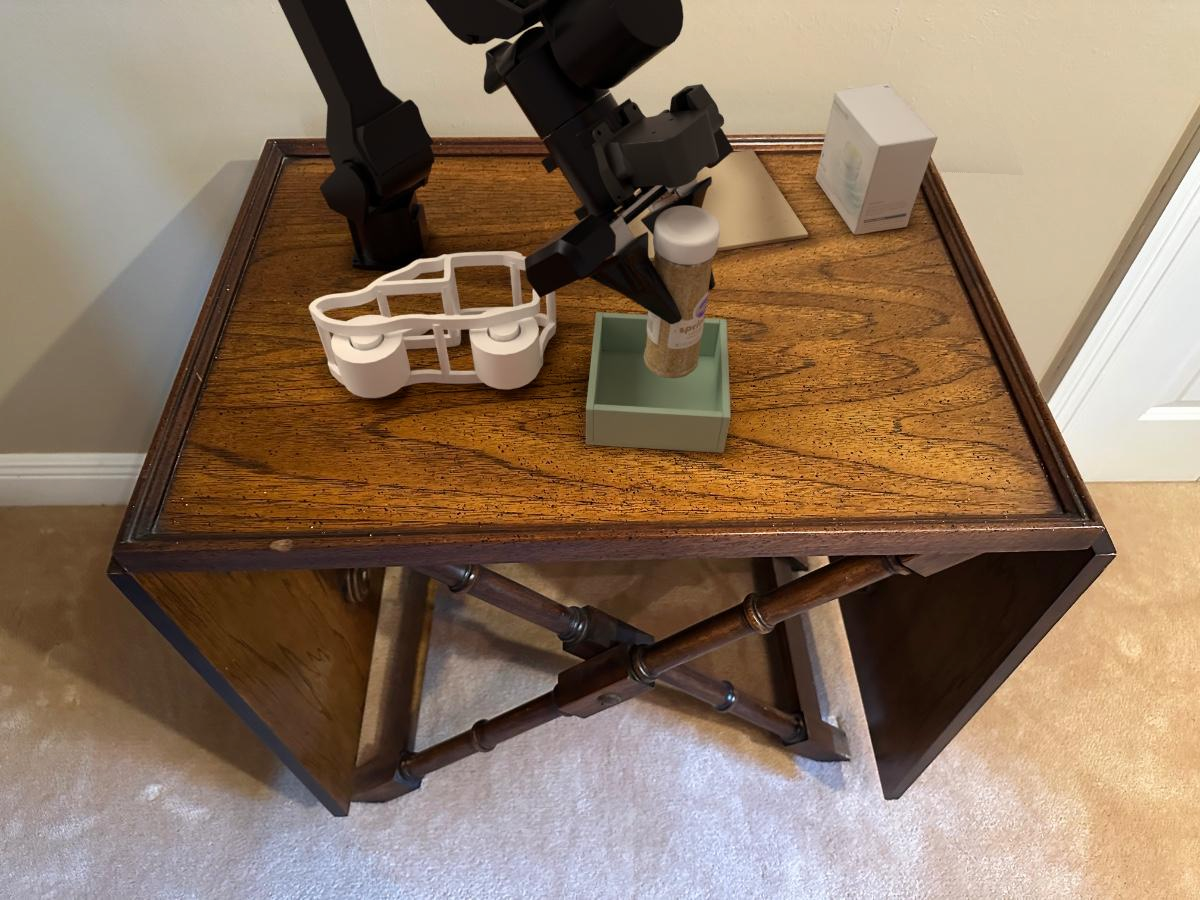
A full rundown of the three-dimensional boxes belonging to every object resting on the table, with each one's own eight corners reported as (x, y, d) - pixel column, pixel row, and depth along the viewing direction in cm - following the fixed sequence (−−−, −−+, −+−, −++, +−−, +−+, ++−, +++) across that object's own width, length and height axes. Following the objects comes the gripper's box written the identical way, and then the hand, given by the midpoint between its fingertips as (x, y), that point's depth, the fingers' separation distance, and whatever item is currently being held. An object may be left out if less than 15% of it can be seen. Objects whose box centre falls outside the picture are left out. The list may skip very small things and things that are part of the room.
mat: (619, 266, 82) (619, 262, 81) (582, 176, 91) (582, 172, 91) (807, 237, 85) (808, 233, 85) (752, 153, 95) (752, 149, 94)
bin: (586, 444, 68) (585, 409, 64) (595, 348, 75) (596, 311, 71) (723, 453, 67) (730, 417, 64) (720, 355, 74) (726, 318, 71)
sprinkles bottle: (691, 386, 66) (713, 249, 55) (635, 373, 66) (647, 234, 56) (704, 347, 68) (727, 209, 58) (650, 335, 69) (664, 196, 59)
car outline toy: (324, 414, 69) (301, 351, 63) (337, 324, 76) (317, 260, 70) (563, 399, 71) (561, 336, 65) (554, 311, 77) (552, 247, 72)
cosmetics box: (811, 179, 92) (833, 88, 83) (865, 172, 93) (891, 81, 84) (851, 236, 85) (879, 143, 77) (908, 228, 86) (942, 135, 78)
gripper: (554, 125, 46) (700, 355, 50) (729, 7, 55) (838, 210, 60) (463, 195, 55) (594, 385, 59) (627, 84, 64) (729, 254, 69)
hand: (693, 305), depth 62 cm, fingers closed on sprinkles bottle, 4 cm apart
